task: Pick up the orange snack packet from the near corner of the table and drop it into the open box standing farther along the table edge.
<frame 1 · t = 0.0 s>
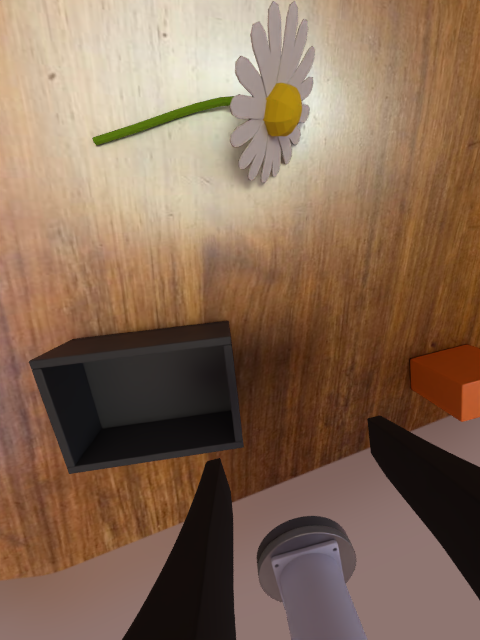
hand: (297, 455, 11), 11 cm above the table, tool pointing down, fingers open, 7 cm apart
packet: (438, 366, 23), on the table
open box: (161, 377, 20), on the table
decorative flower: (211, 156, 17), on the table
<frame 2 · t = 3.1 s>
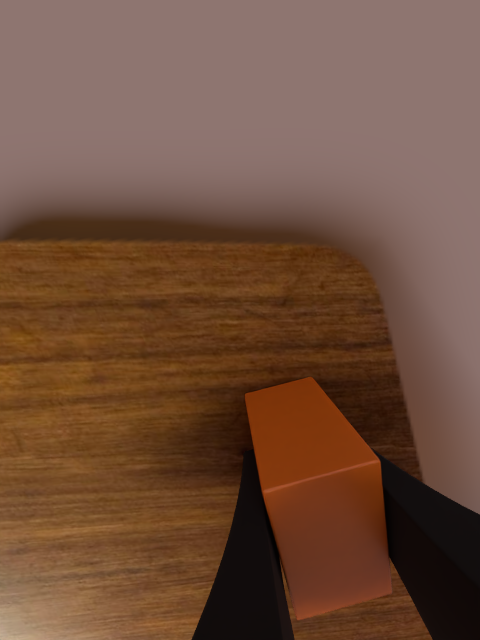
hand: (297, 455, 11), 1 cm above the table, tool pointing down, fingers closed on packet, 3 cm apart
packet: (288, 433, 12), on the table, touching gripper
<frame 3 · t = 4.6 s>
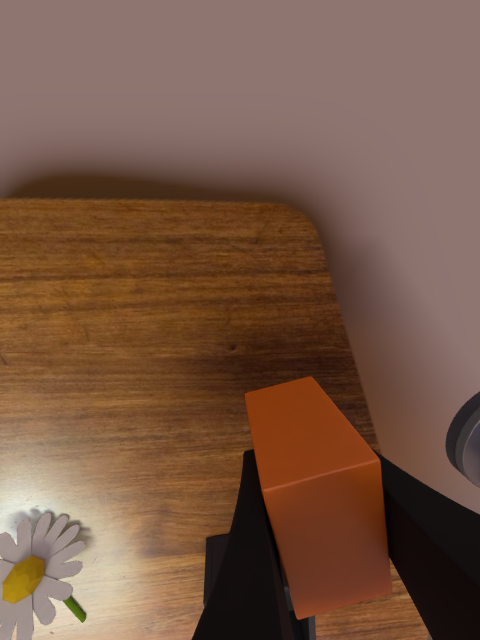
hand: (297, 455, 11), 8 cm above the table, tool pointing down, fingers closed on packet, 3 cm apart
packet: (288, 433, 12), point 7 cm above the table, touching gripper
open box: (257, 574, 24), on the table
decorative flower: (76, 558, 22), on the table
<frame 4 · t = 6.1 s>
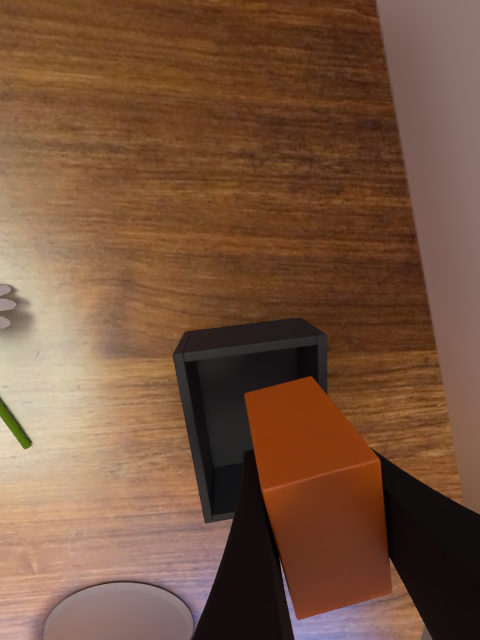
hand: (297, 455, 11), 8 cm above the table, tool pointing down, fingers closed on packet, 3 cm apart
vase: (122, 628, 25), on the table
packet: (288, 433, 12), point 7 cm above the table, touching gripper
open box: (251, 398, 19), on the table
decorative flower: (13, 351, 17), on the table
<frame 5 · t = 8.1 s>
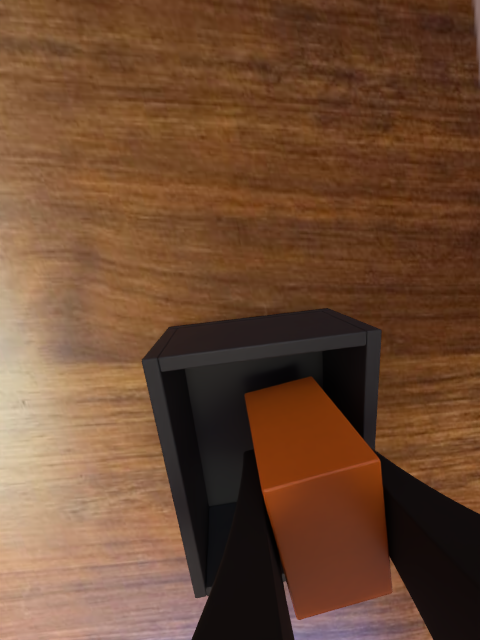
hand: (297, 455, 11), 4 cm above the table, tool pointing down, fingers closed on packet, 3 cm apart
packet: (288, 433, 12), point 2 cm above the table, touching gripper
open box: (259, 416, 14), on the table
when the fingers open (4 cm above the table, at t = 9.4 s): packet drops 2 cm, resting on open box.
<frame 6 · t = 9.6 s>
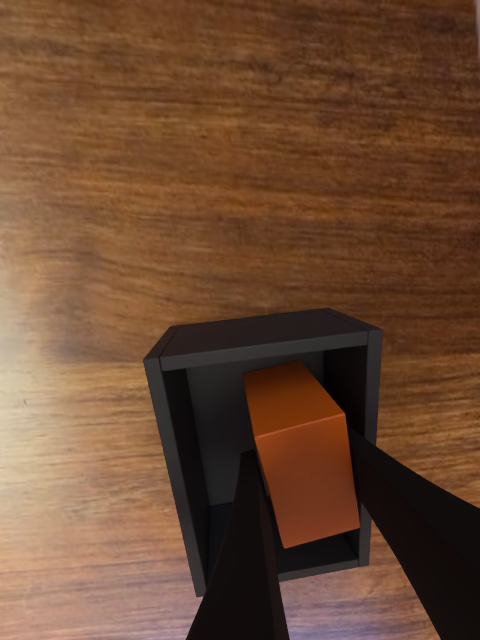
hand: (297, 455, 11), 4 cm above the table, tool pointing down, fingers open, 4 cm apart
packet: (280, 409, 14), resting on open box
open box: (259, 416, 14), on the table
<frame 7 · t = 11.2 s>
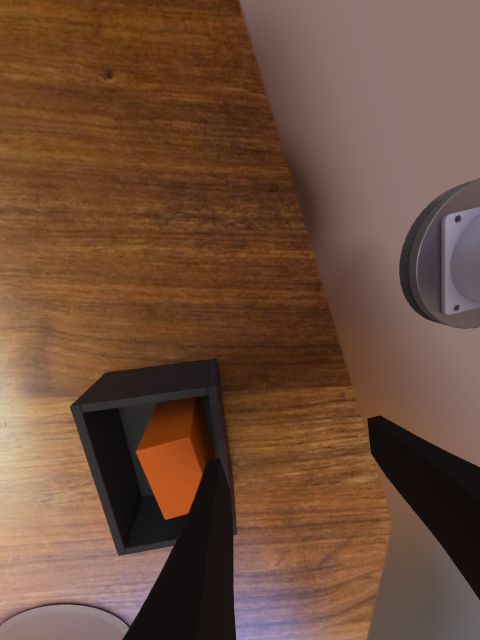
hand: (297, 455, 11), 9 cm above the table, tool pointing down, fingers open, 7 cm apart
packet: (187, 427, 20), resting on open box
open box: (175, 432, 20), on the table
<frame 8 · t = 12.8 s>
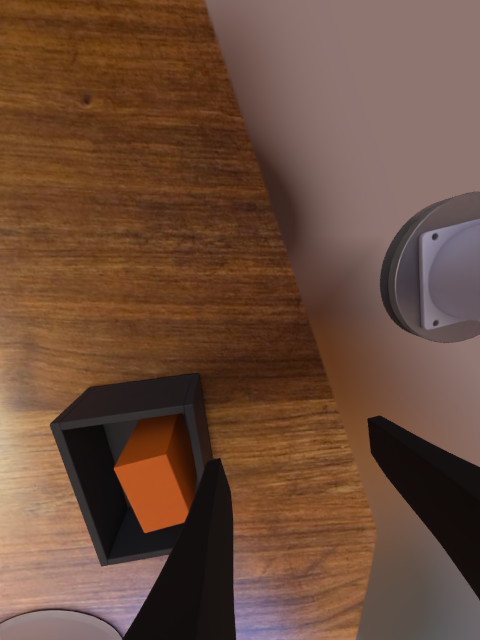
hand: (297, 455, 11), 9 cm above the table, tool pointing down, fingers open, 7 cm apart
packet: (170, 440, 20), resting on open box
open box: (159, 444, 21), on the table
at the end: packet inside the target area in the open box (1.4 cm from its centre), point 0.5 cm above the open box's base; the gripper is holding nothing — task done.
